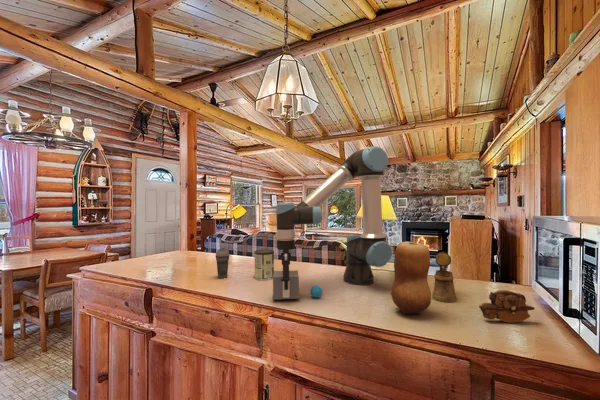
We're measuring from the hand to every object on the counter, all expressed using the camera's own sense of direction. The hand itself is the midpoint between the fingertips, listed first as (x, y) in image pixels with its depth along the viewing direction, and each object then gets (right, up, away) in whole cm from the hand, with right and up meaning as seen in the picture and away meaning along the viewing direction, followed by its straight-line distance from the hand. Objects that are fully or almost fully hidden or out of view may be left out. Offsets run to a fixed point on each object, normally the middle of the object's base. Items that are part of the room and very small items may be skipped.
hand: (286, 292), depth 118 cm
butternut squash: (+45, -2, -16) cm, 48 cm away
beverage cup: (-35, -3, +32) cm, 48 cm away
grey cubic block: (0, -1, 0) cm, 1 cm away
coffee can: (-13, -3, +32) cm, 35 cm away
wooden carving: (+74, -2, -24) cm, 78 cm away
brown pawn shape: (+66, -2, 0) cm, 66 cm away
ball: (+13, +1, +1) cm, 13 cm away
